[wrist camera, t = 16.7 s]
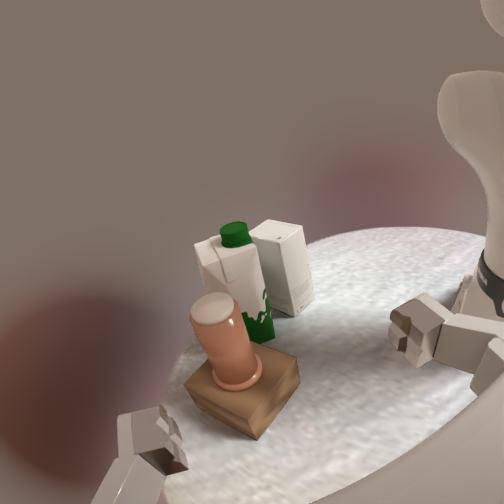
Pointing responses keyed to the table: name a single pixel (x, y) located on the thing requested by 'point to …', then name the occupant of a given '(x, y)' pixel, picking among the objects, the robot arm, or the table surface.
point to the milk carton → (237, 277)
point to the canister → (226, 342)
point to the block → (248, 393)
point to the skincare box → (284, 265)
